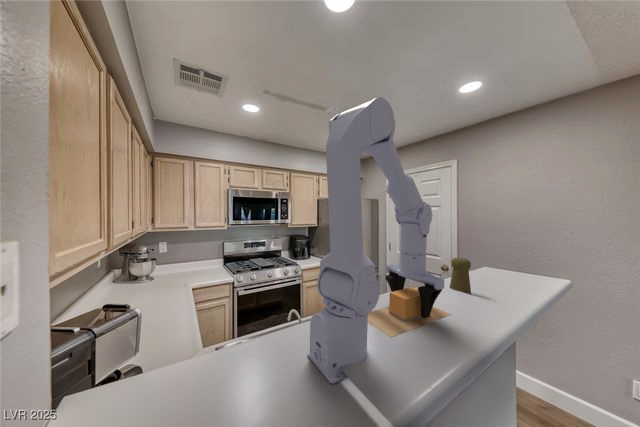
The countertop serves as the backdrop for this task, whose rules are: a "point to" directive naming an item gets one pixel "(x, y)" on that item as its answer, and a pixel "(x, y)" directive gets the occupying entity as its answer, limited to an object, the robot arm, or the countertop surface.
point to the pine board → (400, 321)
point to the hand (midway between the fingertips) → (411, 310)
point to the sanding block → (405, 304)
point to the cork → (460, 275)
